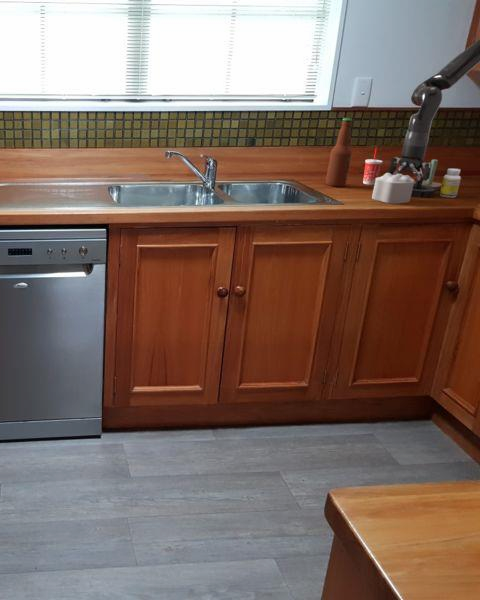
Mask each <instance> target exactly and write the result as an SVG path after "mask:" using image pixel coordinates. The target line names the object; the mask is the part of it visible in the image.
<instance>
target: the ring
mask: <svg viewBox="0 0 480 600" xmlns="http://www.w3.org/2000/svg"><path fill="white" fill-rule="evenodd" d="M435 194H436V191H435V189H434V188H432V187H428V186H421V189H419V190H418V189H415V185H413V189H412V193H411V196H412V197H413V198H419V197H421V198H422V199H429V198H430V199H431V198H434V197H435ZM423 197H424V198H423Z"/></svg>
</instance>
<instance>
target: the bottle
mask: <svg viewBox="0 0 480 600" xmlns="http://www.w3.org/2000/svg"><path fill="white" fill-rule="evenodd" d="M352 120H353V119H352V118H349V117H343V118H342V121H341V127H340V130H339V132H338V135H337V139H336V143H335V145H334V146H333V148H332V149H331V150H330V155H329V160H328V167H327V171H326V172H327V173H326V177H325V184H326V186H328V187H333V188H343V187H345V186H346V185H347V181H348V174H349V169H350V165H351V159H352V158H351V157H352V149H351V147H350V141H351V126H352Z"/></svg>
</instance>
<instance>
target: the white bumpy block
mask: <svg viewBox="0 0 480 600" xmlns="http://www.w3.org/2000/svg"><path fill="white" fill-rule="evenodd" d="M414 182H415V180H414V179H413V178H412V177H411V176H410V175H408V174H406V175H404V174H403V173H400V174H397V175H392V174H390V173H388V172H386V173H384V174H383V175H382V176H378V177H377V178H376V180H375V185H373V191H372V194H371V199H372V200H374V201H379V202H383V203H385V204H405V203H409V202H410V201H411V198H412V197H411V193H412V189H413V185H414Z"/></svg>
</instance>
